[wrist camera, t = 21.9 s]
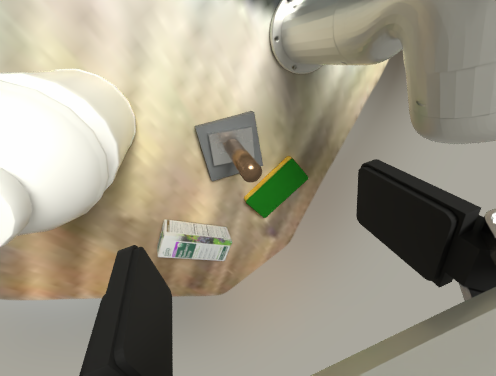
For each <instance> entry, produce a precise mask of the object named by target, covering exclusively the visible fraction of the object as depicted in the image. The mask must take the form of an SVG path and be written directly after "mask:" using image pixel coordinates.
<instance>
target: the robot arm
mask: <svg viewBox="0 0 496 376" xmlns="http://www.w3.org/2000/svg"><path fill="white" fill-rule="evenodd" d="M274 38H276V41H275V40H274ZM270 41H271V46H272V51H273V53H274V55H275V58H276V59H277V61H278V62H279V64H280V65H281V66H282V67H283V68H285V69H286V70H288V71H289V72H292V73H296V74H307V73H311V72H313V71H315V70H317V69H319V68H320V67H321V66H323V65H372V64H377V63H380V62H383V61H385V60H387V59H389V58H391V57H392V56H394V55H396V54H397V53H398V52H399V51H401V50H402V49H403V55H404V65H405V68H406V79H407V91H408V103H409V113H410V118H411V122H412V125H413V127H414V129H415V130H416V131H417V133H418V134H420V135H421V136H422V137H424V138H426V139H429V140H431V141H435V142H441V143H450V144H465V143H466V144H467V143H480V142H489V141H496V0H288V2H287V0H281V1H280V2H279V4H278V6H277V7H276V9H275V12H274V14H273V17H272V22H271V27H270ZM292 66H293V69H292ZM357 196H358V197H357V220H358V221H359V223H360V224H361V225H362V226H363V227H365V228H366V229H367V230H368V231H369V232H371V233H372V234H373V235H374V236H375V237H376V238H378V239H379V240H380V241H381V242H382V243H384V244H385V245H386V246H387V247H388V248H389V249H391V250H392V251H393V252H394V253H395V254H397V255H398V256H399V257H400V258H401V259H403V260H404V261H405V262H406V263H407V264H408V265H409V266H411V267H412V268H413V269H414V270H415V271H417V272H418V273H419V274H420V275H421V276H422V277H424V278H425V279H427V280H429V281H433V282H434V283H435V284H436V285H437V286H438V287H442V286H444V285H446V284H448V283H450V282H452V280H453V279H455V280H456V281H457V282H459V285H460V288H461V291H462V294H463V297H464V300H465V301H464V302H462V303H460V304H458V305H456V306H454V307H452V308H450V309H448V310H446V311H444V312H441V313H440V314H437V315H435V316H433V317H431V318H429V319H427V320H425V321H423V322H420V323H418V324H416V325H414V326H412V327H410V328H408V329H406V330H404V331H402V332H400V333H398V334H396V335H394V336H391V337H389V338H387V339H385V340H383V341H381V342H379V343H377V344H375V345H373V346H371V347H369V348H367V349H365V350H362V351H360V352H358V353H356V354H354V355H352V356H350V357H348V358H346V359H344V360H342V361H340V362H338V363H336V364H334V365H332V366H329V367H328V368H325V369H324V370H321V371H319V372H317V373H315V374H313V375H311V376H496V209H492V210H490V211H488V212H486V214H485V216H484V217H482V216H480V215H479V212H480V210H481V208H480V207H478V206H476V205H474V204H472V203H470V202H467V201H466V200H463V199H461V198H459V197H457V196H455V195H453V194H451V193H448V192H446V191H444V190H442V189H439V188H438V187H436V186H433V185H431V184H429V183H427V182H425V181H423V180H421V179H418V178H416V177H414V176H412V175H410V174H407V173H406V172H403V171H401V170H399V169H397V168H395V167H392V166H391V165H388V164H386V163H384V162H382V161H380V160H372V161H369V162H367V163H364V164H362V166H361V168H360V169H359V173H358V195H357ZM172 370H173V369H172V294H171V291H170V289H169V287H168V286H167V284H166V283H165V281H164V279H163V278H162V276H161V275H160V273H159V272H158V270H157V268H156V267H155V265H154V264H153V262H152V261H151V259H150V258H149V256H148V254H147V253H146V251H145V250H144V248H143V247H139V248H138V247H137V246H136V245H133V246H130V247H127V248H125V249H122V250H119V251H118V253H117V256H116V259H115V263H114V266H113V270H112V273H111V277H110V281H109V284H108V288H107V291H106V294H105V295H104V296H103V298H102V300H101V303H100V307H99V310H98V313H97V317H96V320H95V324H94V327H93V330H92V334H91V337H90V341H89V344H88V348H87V351H86V354H85V358H84V361H83V365H82V368H81V372H80V375H79V376H173V374H172V372H173V371H172Z"/></svg>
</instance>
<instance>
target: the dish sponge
mask: <svg viewBox="0 0 496 376" xmlns="http://www.w3.org/2000/svg"><path fill="white" fill-rule="evenodd" d="M306 180H308V176H307V175H306V174H305V173H304V171H303V170H302V169H301V168H300V167H299V165H298V164H297V163H296V162H295V161H294V159H292V158H291V157H290V156H287V157H286V158H285V159H284V160H283V161H282V162H281V163H280V164H279V165H278V166H277V167H276V168H274V169H273V170H272V171H271V172H270V173H269V174H268V175H267V176H266V177H265V178H264V179H263V180H262V181H261V182H260V183H259V184H258V185H256V186H255V187H254V188H253V189H252V190H251V191H250V192H249V193H248V194H247V195H246V196H245V197H244V200H245V201H246V203H247V204H248V205H249V206H250V207H252V208H253V209H254V210H255V211H256V212H258V213H259V214H260V215H261V216H262V217H264V218H266V217H267V216H268V215H269V214H270V213H271V212H273V211H274V210H275V209H276V208H277V207H278V206H279V205H280V204H281V203H282V202H283V201H285V200H286V199H287V198H288V197H289V196H290V195H291V194H292V193H293V192H294V191H296V190H297V189H298V188H299V187H300V186H301V185H302V184H303V183H304V182H305V181H306Z"/></svg>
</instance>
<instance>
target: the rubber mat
mask: <svg viewBox="0 0 496 376" xmlns="http://www.w3.org/2000/svg"><path fill="white" fill-rule="evenodd" d="M247 126H251V127H252V133H253V146H254V160H255V161H256V162H257V163H258V164H259V165H260V167H261V166H263V163H262V157H261V151H260V145H259V139H258V133H257V127H256V121H255V115H254V112H252V111H250V112H246V113H242V114H239V115H235V116H231V117H227V118H224V119H220V120H216V121H212V122H208V123H205V124H201V125H197V126H195V129H196V132H197V135H198V138H199V142H200V145H201V148H202V151H203V155H204V158H205V161H206V164H207V167H208V171H209V174H210V177H211V180H212V181H215V180H218V179H221V178H225V177H228V176H231V175H234V174H238V173H239V171H238V170H237V168H236V166H235V165H234V163H233V162H231V163H226V164H221V165H216V166H214V164H213V159H212V154H211V148H210V142H209V137H208V133H211V132H217V131H223V130H229V129H235V128H241V127H247Z"/></svg>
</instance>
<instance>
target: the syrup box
mask: <svg viewBox="0 0 496 376" xmlns="http://www.w3.org/2000/svg"><path fill="white" fill-rule="evenodd" d="M231 244H232V240H231V237H230V234H229V232H228V229H227V227H222V226H214V225H206V224H198V223H189V222H182V221H174V220H166V219H165V220H164V223H163V227H162V230H161V234H160V238H159V242H158V247H157V253H158V257H165V258H182V259H200V260H215V261H225V260H226V256H227V254H228V251H229V249H230V246H231Z"/></svg>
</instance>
